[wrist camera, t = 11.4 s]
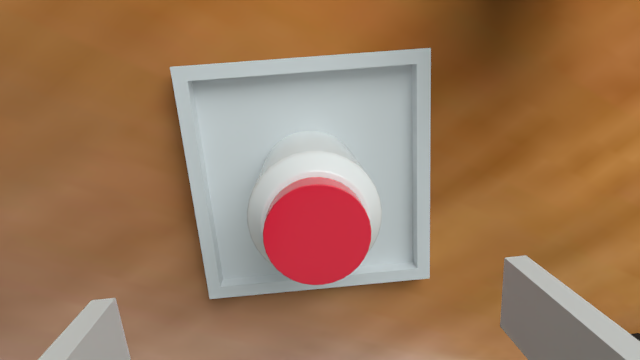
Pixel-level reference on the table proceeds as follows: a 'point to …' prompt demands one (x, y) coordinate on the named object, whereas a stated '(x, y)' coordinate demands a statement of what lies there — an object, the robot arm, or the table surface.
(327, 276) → the pill bottle
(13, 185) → the table surface
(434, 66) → the table surface
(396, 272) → the tray
